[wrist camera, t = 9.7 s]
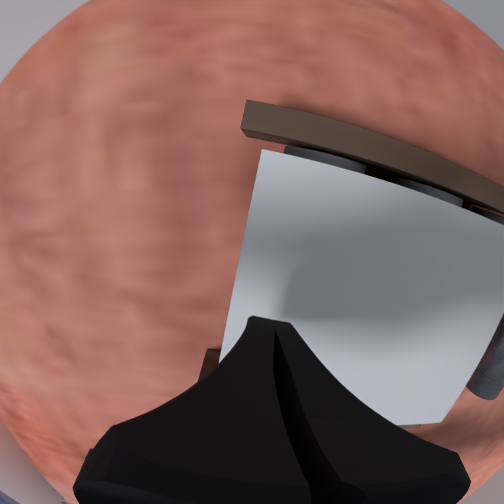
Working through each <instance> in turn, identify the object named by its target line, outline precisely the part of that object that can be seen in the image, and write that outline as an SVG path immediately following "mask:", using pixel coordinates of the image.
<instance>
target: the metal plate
mask: <svg viewBox="0 0 504 504" xmlns="http://www.w3.org/2000/svg"><path fill="white" fill-rule="evenodd" d="M503 313H504V225H502V224H499V223H497V222H495V221H492V220H490V219H488V218H485V217H483V216H481V215H478V214H476V213H473V212H471V211H469V210H466V209H464V208H461V207H458V206H456V205H453V204H451V203H448V202H445V201H443V200H440V199H437V198H435V197H432V196H429V195H426V194H423V193H421V192H418V191H415V190H412V189H409V188H406V187H403V186H400V185H397V184H394V183H391V182H387V181H384V180H381V179H378V178H374V177H371V176H368V175H364V174H361V173H358V172H354V171H350V170H347V169H343V168H340V167H336V166H332V165H328V164H324V163H321V162H317V161H313V160H309V159H304V158H300V157H296V156H292V155H287V154H283V153H278V152H274V151H269V150H264V149H262V152H261V157H260V161H259V166H258V171H257V176H256V180H255V185H254V190H253V195H252V200H251V204H250V209H249V214H248V219H247V224H246V229H245V234H244V239H243V243H242V248H241V253H240V258H239V263H238V268H237V273H236V278H235V283H234V288H233V293H232V298H231V303H230V308H229V313H228V318H227V323H226V329H225V334H224V339H223V344H222V349H221V354H220V359H219V363H220V362H221V361H222V359H223V358H224V357H225V356H226V355H227V354H228V352H229V351H230V350H231V349H232V348H233V346H234V345H235V344H236V342H237V341H238V339H239V338H240V336H241V335H242V333H243V331H244V329H245V327H246V324H247V320H248V318H249V317H250V316H252V315H253V316H258V317H263V318H268V319H273V320H278V321H284V322H289V323H291V324H292V325H293V327H294V328H295V329H296V330H297V332H298V333H299V334H300V336H301V337H302V338H303V340H304V341H305V342H306V344H307V345H308V346H309V348H310V349H311V350H312V351H313V353H314V354H315V355H316V356H317V358H318V359H319V360H320V361H321V362H322V363H323V365H324V366H325V367H326V368H327V369H328V370H329V371H330V372H331V373H332V374H333V375H334V377H335V378H336V379H337V380H338V381H339V382H340V383H341V384H342V385H344V386H345V387H346V388H347V389H348V390H349V391H350V392H351V393H353V394H354V395H355V396H356V397H357V398H358V399H359V400H361V401H362V402H363V403H364V404H366V405H367V406H368V407H370V408H371V409H373V410H374V411H375V412H377V413H378V414H380V415H381V416H383V417H384V418H386V419H387V420H389V421H390V422H392V423H394V424H395V425H412V424H428V423H440V422H441V421H442V420H443V419H444V417H445V416H446V414H447V413H448V412H449V410H450V409H451V407H452V406H453V404H454V403H455V401H456V400H457V398H458V397H459V395H460V394H461V392H462V391H463V389H464V387H465V386H466V384H467V382H468V381H469V379H470V378H471V376H472V374H473V372H474V371H475V369H476V367H477V365H478V364H479V362H480V360H481V358H482V356H483V355H484V353H485V351H486V349H487V347H488V345H489V343H490V341H491V339H492V337H493V335H494V333H495V331H496V329H497V327H498V324H499V322H500V320H501V318H502V316H503Z"/></svg>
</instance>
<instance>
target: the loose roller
mask: <svg viewBox="0 0 504 504" xmlns="http://www.w3.org/2000/svg"><path fill="white" fill-rule="evenodd" d="M466 387H467V388H468V389H469V390H470V391H471V392H472V393H473V394H475V395H476V396H478V397H480V398H483V399H486V400H493V399H495V398H496V397H497V396H498V395H499V393H500V391H501V390H502V388H503V387H504V313H503V316H502V318H501V320H500V322H499V324H498V327H497V329H496V331H495V333H494V335H493V337H492V339H491V341H490V343H489V345H488V347H487V349H486V351H485V353H484V355H483V356H482V358H481V360H480V362H479V364H478V365H477V367H476V369H475V371H474V372H473V374H472V376H471V378H470V379H469V381H468V382H467V384H466Z"/></svg>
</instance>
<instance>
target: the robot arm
mask: <svg viewBox="0 0 504 504" xmlns="http://www.w3.org/2000/svg"><path fill="white" fill-rule="evenodd" d="M470 483H471V480H470V478H469V476H468V474H467V472H466V470H465V467H464V465H463V463H462V461H461V459H460V457H459V455H458V454H457V453H456V452H453V451H450V450H448V449H445V448H443V447H440V446H438V445H435V444H433V443H430V442H428V441H425V440H423V439H421V438H419V437H417V436H415V435H413V434H411V433H409V432H408V431H406V430H404V429H402V428H400V427H399V426H397V425H395V424H394V423H392V422H390V421H389V420H387V419H386V418H384V417H383V416H381V415H380V414H378V413H377V412H375V411H374V410H373V409H371V408H370V407H368V406H367V405H366V404H364V403H363V402H362V401H361V400H359V399H358V398H357V397H356V396H355V395H354V394H353V393H351V392H350V391H349V390H348V389H347V388H346V387H345V386H344V385H342V384H341V383H340V382H339V381H338V380H337V379H336V378H335V377H334V375H333V374H332V373H331V372H330V371H329V370H328V369H327V368H326V367H325V366H324V365H323V363H322V362H321V361H320V360H319V359H318V358H317V356H316V355H315V354H314V353H313V351H312V350H311V349H310V348H309V346H308V345H307V344H306V342H305V341H304V340H303V338H302V337H301V336H300V334H299V333H298V332H297V330H296V329H295V328H294V327H293V325H292V324H291V323H289V322H284V321H278V320H273V319H268V318H263V317H258V316H253V315H252V316H250V317H249V318H248V320H247V324H246V327H245V329H244V331H243V333H242V335H241V336H240V338H239V339H238V341H237V342H236V344H235V345H234V346H233V348H232V349H231V350H230V351H229V352H228V354H227V355H226V356H225V357H224V358H223V359H222V361H221V362H220V363H219V364H218V365H217V366H216V367H215V368H214V369H213V370H211V371H210V372H209V373H208V374H207V375H206V376H205V377H203V378H202V379H201V380H200V381H198V382H197V383H196V384H194V385H193V386H192V387H190V388H189V389H188V390H186V391H185V392H183V393H182V394H180V395H179V396H177V397H175V398H173V399H172V400H170V401H168V402H166V403H164V404H163V405H161V406H159V407H157V408H155V409H153V410H151V411H149V412H147V413H145V414H142V415H140V416H137V417H135V418H132V419H130V420H127V421H124V422H122V423H119V424H116V425H113V426H111V428H110V429H109V430H108V431H107V432H106V433H105V434H104V436H103V437H102V438H101V439H100V440H99V442H98V443H97V444H96V446H95V447H94V448H93V450H92V451H91V452H90V454H89V455H88V457H87V458H86V460H85V462H84V464H83V466H82V468H81V470H80V473H79V475H78V477H77V479H76V481H75V483H74V485H73V491H74V495H75V497H76V499H77V501H78V502H79V504H456V503H457V502H459V501H460V500H461V499H462V498H463V496H464V495H465V494H466V492H467V491H468V489H469V487H470ZM0 504H19V503H18V502H16V501H15V500H13V499H12V498H10V497H8V496H7V495H6V494H4V493H2V492H1V491H0Z"/></svg>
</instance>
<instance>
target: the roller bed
mask: <svg viewBox="0 0 504 504" xmlns="http://www.w3.org/2000/svg"><path fill="white" fill-rule="evenodd" d="M241 130H242V131H243V132H244V134H245V135H246V137H251V138H256V139H261V140H266V141H270V142H275V143H280V144H284V145H289V146H285V150H284V154H287V155H292V156H296V157H300V158H304V159H309V160H313V161H317V162H321V163H324V164H328V165H332V166H336V167H340V168H343V169H347V170H350V171H354V172H358V173H361V174H364V175H365V171H366V166H368V167H371V168H375V169H378V170H381V171H384V172H387V173H390V174H393V175H396V176H399V177H402V178H405V179H402V178H396V179H395V183H394V184H397V185H400V186H403V187H406V188H409V189H412V190H415V191H418V192H421V193H423V194H426V195H429V196H432V197H435V198H437V199H440V200H443V201H445V202H448V203H451V204H453V205H456V206H458V207H461V208H462V204H463V200H464V201H466V202H469V203H471V204H473V205H477V206H480V207H483V208H486V209H489V210H493V211H496V212H499V213H502V214H504V187H502V186H500V185H498V184H496V183H494V182H493V181H491V180H489V179H487V178H485V177H483V176H481V175H479V174H477V173H475V172H473V171H471V170H468V169H466V168H464V167H462V166H460V165H458V164H456V163H453V162H451V161H449V160H447V159H444V158H442V157H440V156H437V155H435V154H433V153H430V152H428V151H425V150H423V149H420V148H418V147H415V146H413V145H410V144H407V143H405V142H402V141H399V140H397V139H394V138H391V137H388V136H385V135H382V134H379V133H377V132H374V131H370V130H367V129H364V128H361V127H358V126H355V125H351V124H348V123H345V122H341V121H338V120H334V119H331V118H327V117H323V116H320V115H316V114H312V113H308V112H304V111H300V110H295V109H291V108H287V107H282V106H277V105H273V104H268V103H263V102H257V101H252V100H246V105H245V109H244V114H243V119H242V123H241ZM291 146H293V147H291ZM406 179H408V180H406ZM410 180H411V181H410ZM472 212H473V213H476V214H478V215H481V216H483V217H485V218H488V219H490V220H492V221H495V222H497V223H499V224H502V225H504V217H501V216H499V215H496V214H494V213H491V212H488V211H485V210H483V209H479V208H476V207H473V209H472ZM220 354H221V352H217V351H212V350H206V354H205V358H204V361H203V365H202V368H201V372H200V376H199V379H198V381H200V380H201V379H202V378H203V377H205V376H206V375H207V374H208V373H209V372H210V371H211V370H213V369H214V368H215V367H216V366H217V365H218V364H219V359H220ZM421 425H422V424H412V425H397V426H399V427H400V428H402V429H411V428H420V427H421Z"/></svg>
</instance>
